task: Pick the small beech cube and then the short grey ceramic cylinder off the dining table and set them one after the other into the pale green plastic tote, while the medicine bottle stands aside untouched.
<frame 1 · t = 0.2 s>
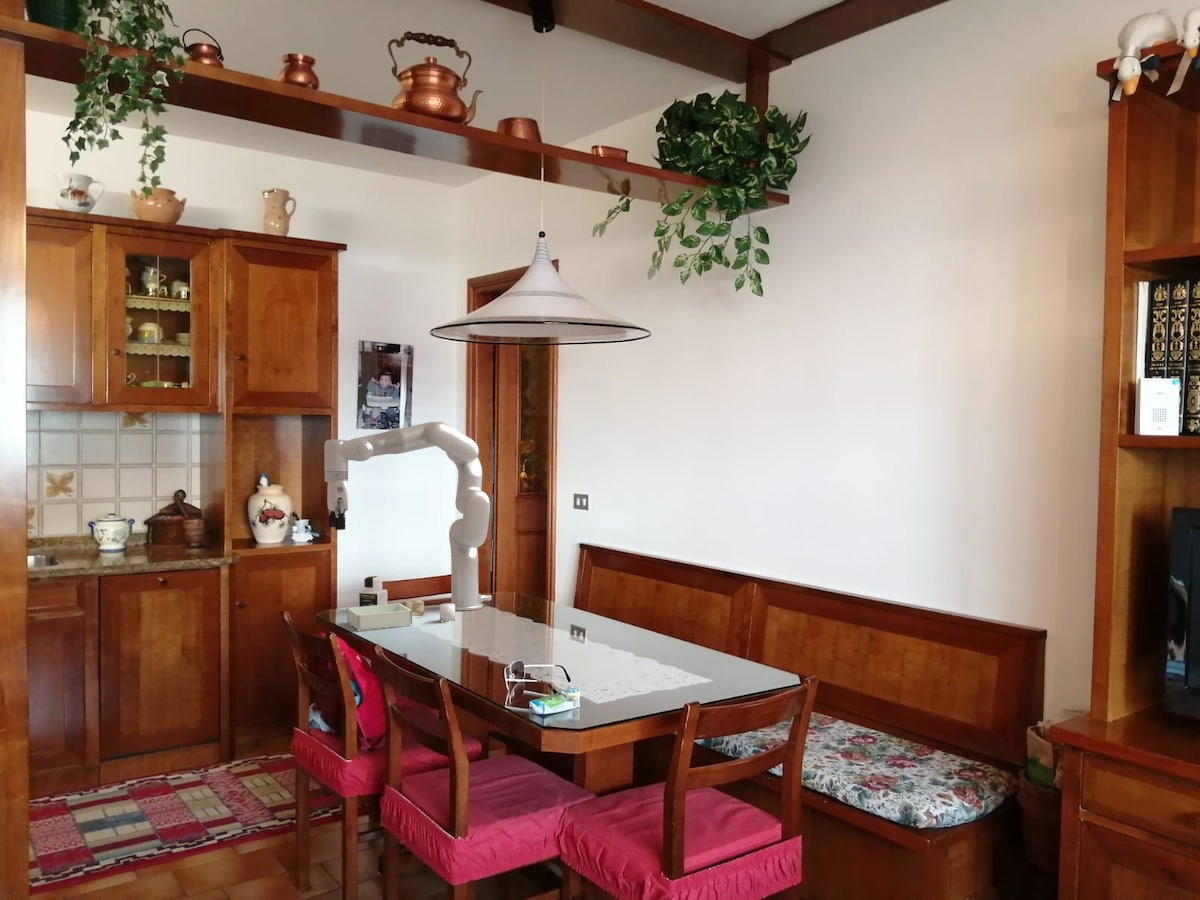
hand: (336, 528, 305), 31 cm above the table, tool pointing down, fingers open, 9 cm apart
grey cylinder: (447, 621, 304), on the table
tote: (379, 624, 299), on the table
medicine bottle: (373, 611, 321), on the table
beech cube: (414, 616, 312), on the table
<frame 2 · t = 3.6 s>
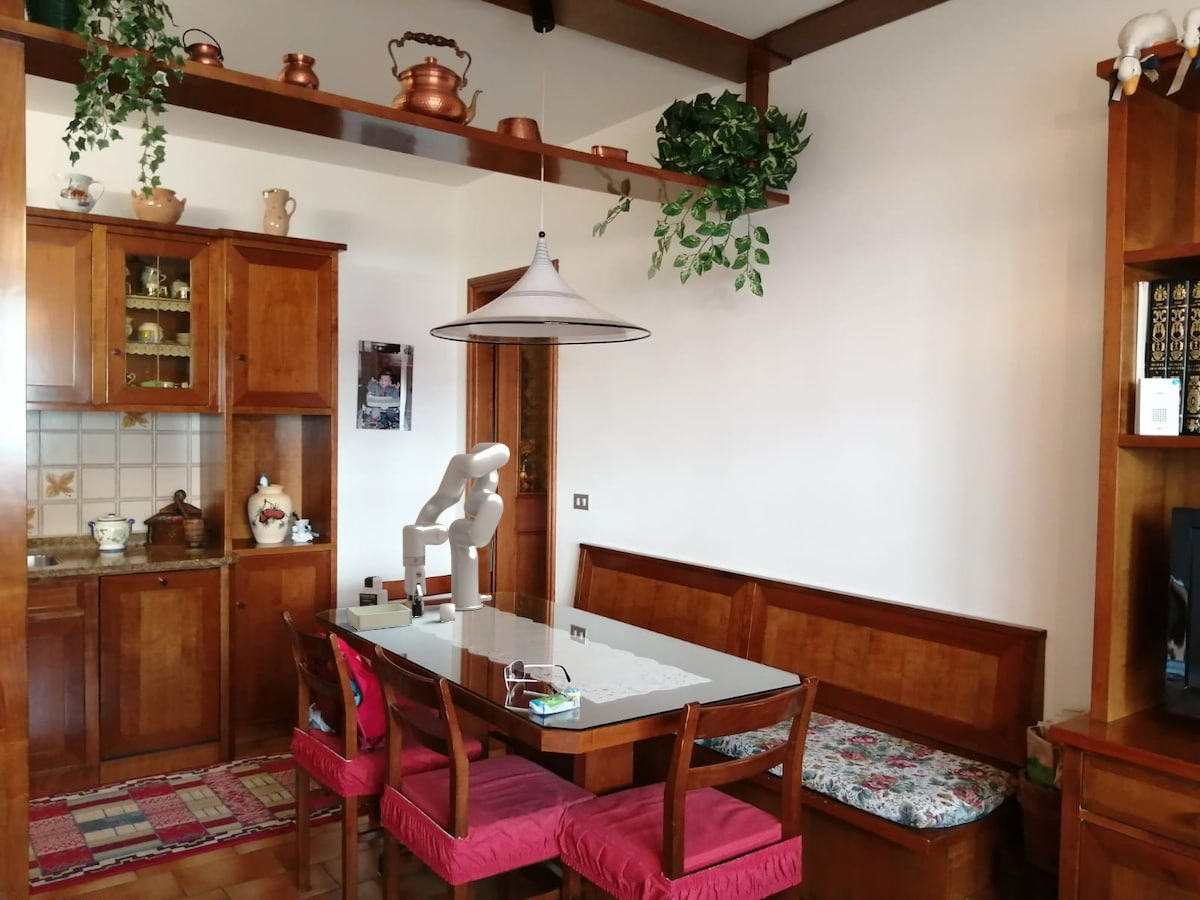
hand: (414, 614, 312), 1 cm above the table, tool pointing down, fingers closed on beech cube, 5 cm apart
beech cube: (414, 616, 312), on the table, touching gripper
everything else where it was.
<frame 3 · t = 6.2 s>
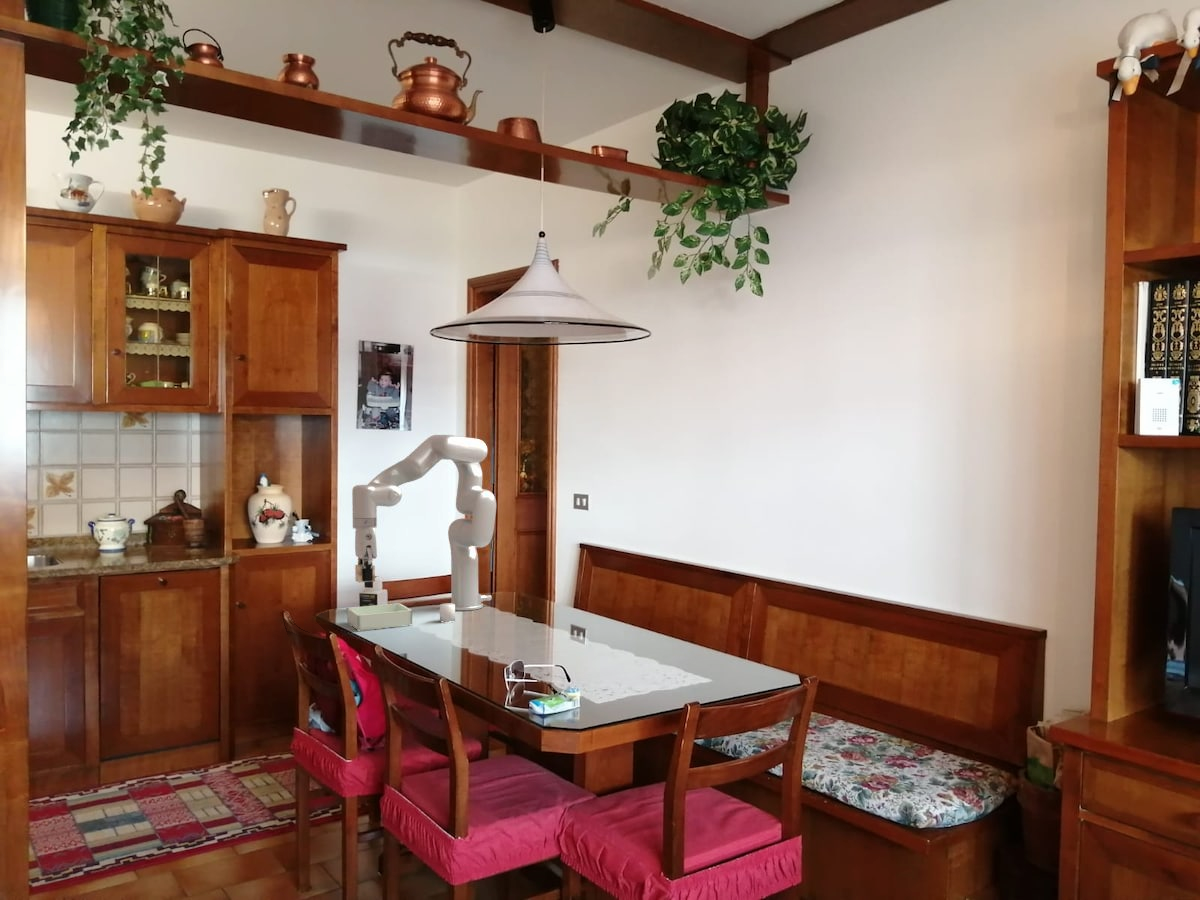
hand: (365, 578, 297), 15 cm above the table, tool pointing down, fingers closed on beech cube, 5 cm apart
beech cube: (365, 580, 297), point 15 cm above the table, touching gripper
everything else where it was.
when the fingers open (3 cm above the table, at t = 8.7 s): beech cube drops 2 cm, resting on tote.
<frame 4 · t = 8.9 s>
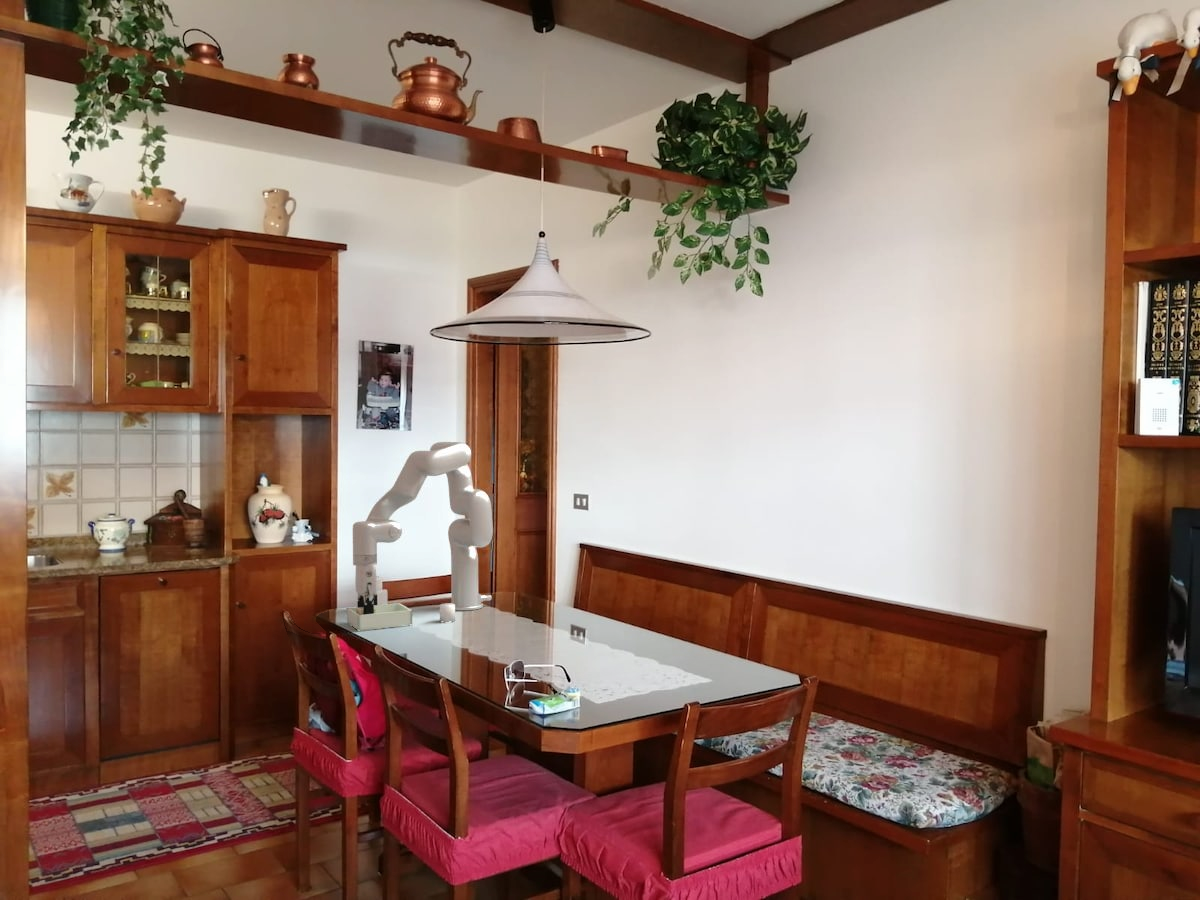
hand: (365, 614, 297), 4 cm above the table, tool pointing down, fingers open, 7 cm apart
beech cube: (365, 623, 297), point 1 cm above the table, touching tote
everything else where it was.
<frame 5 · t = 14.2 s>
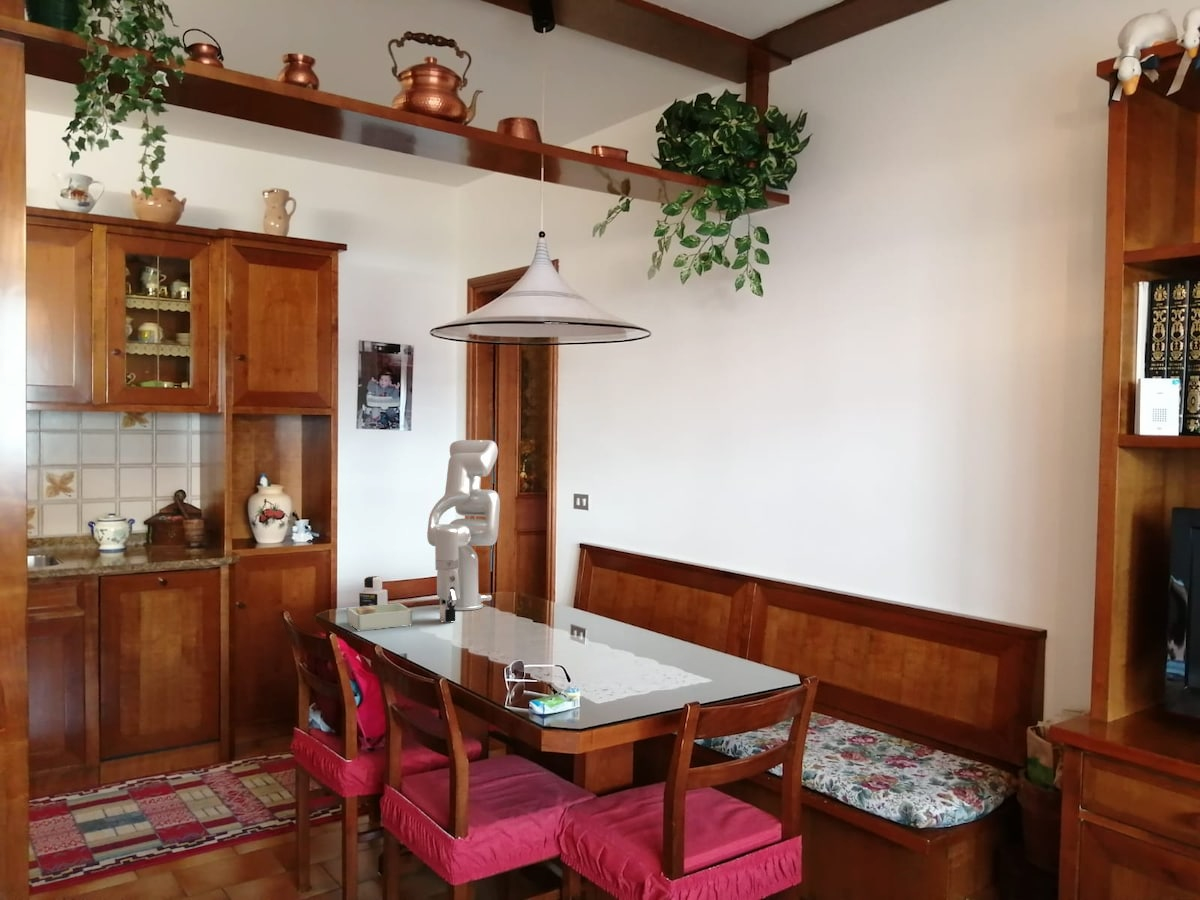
hand: (447, 619, 304), 1 cm above the table, tool pointing down, fingers closed on grey cylinder, 5 cm apart
grey cylinder: (447, 621, 304), on the table, touching gripper
everything else where it was.
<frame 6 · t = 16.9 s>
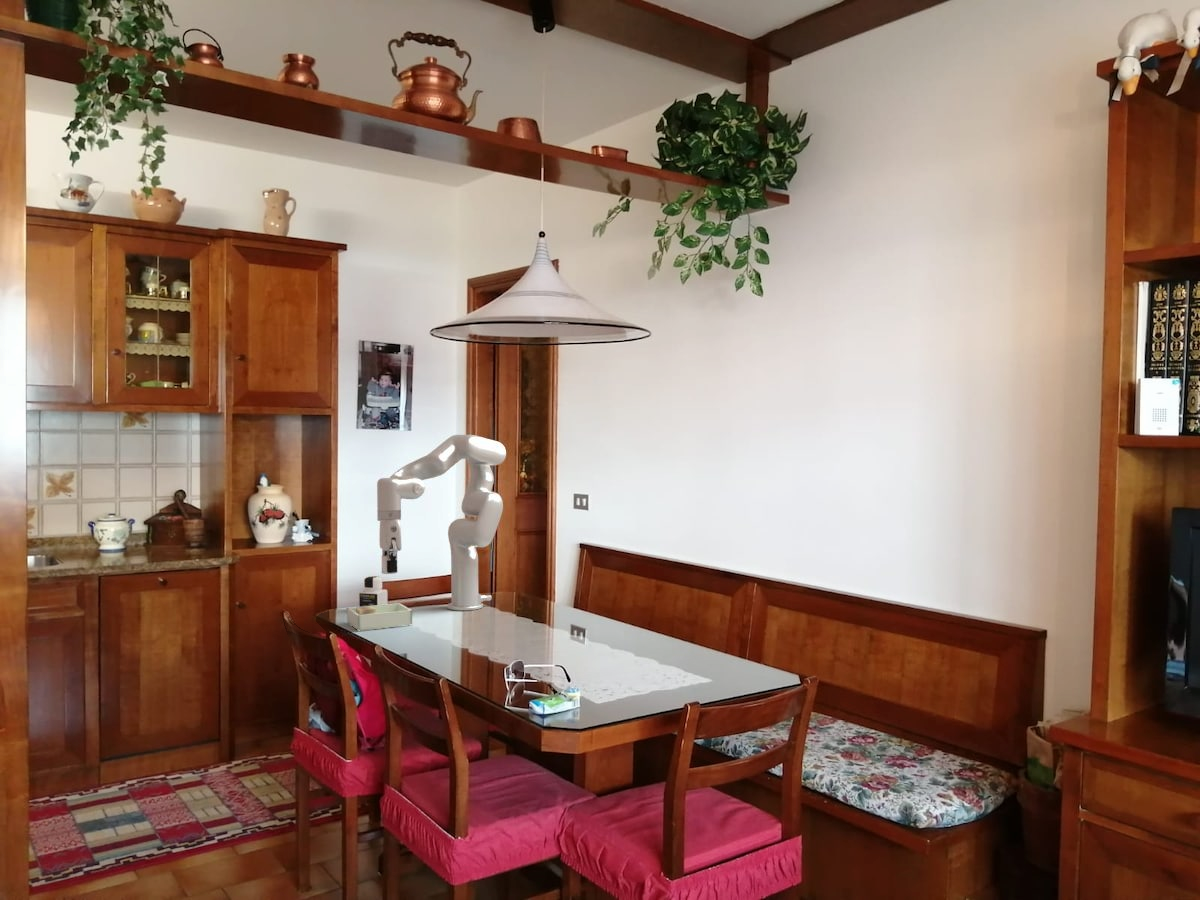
hand: (389, 570, 300), 17 cm above the table, tool pointing down, fingers closed on grey cylinder, 4 cm apart
grey cylinder: (389, 572, 300), point 17 cm above the table, touching gripper
everything else where it was.
when the fingers open (3 cm above the table, at t = 19.9 s): grey cylinder drops 1 cm, resting on tote.
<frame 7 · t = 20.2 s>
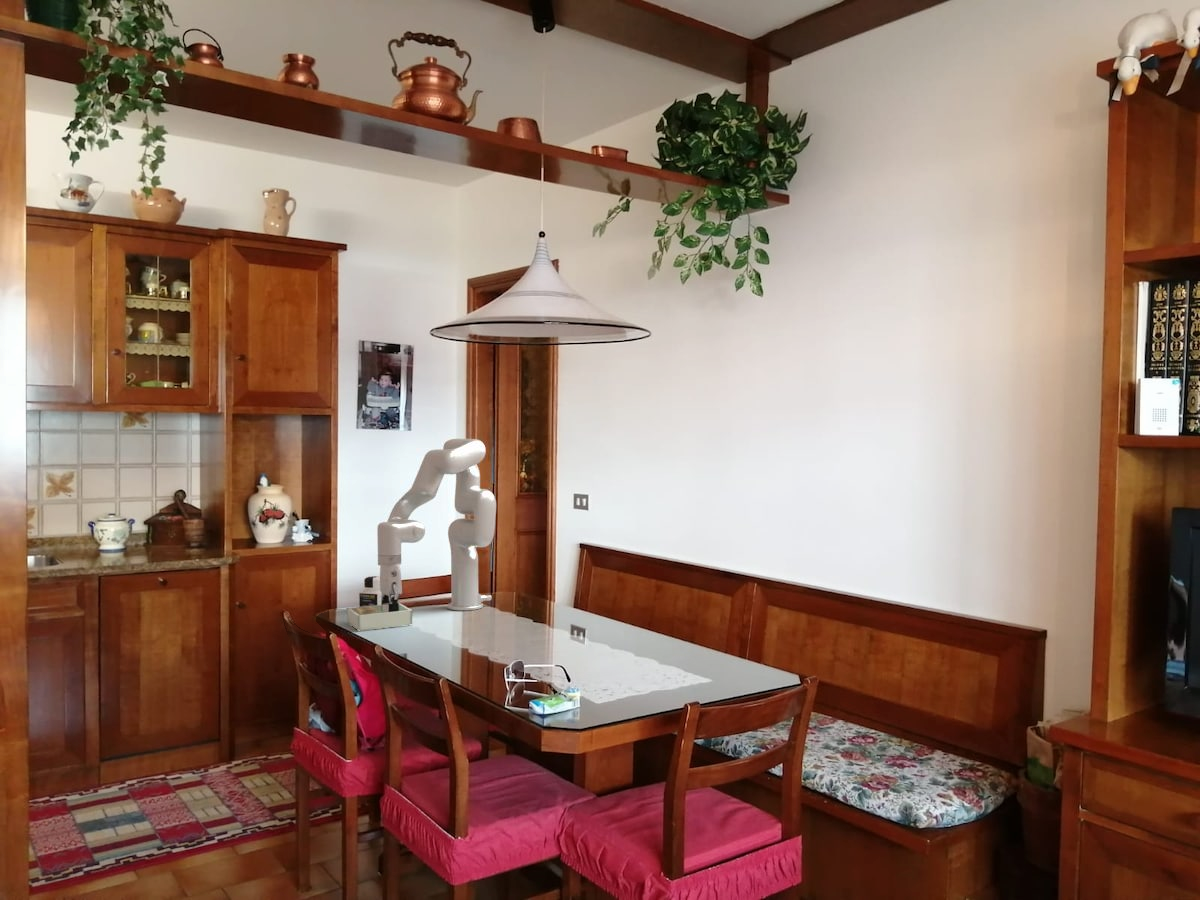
hand: (390, 613, 301), 3 cm above the table, tool pointing down, fingers open, 8 cm apart
grey cylinder: (390, 621, 301), point 1 cm above the table, touching tote
everything else where it was.
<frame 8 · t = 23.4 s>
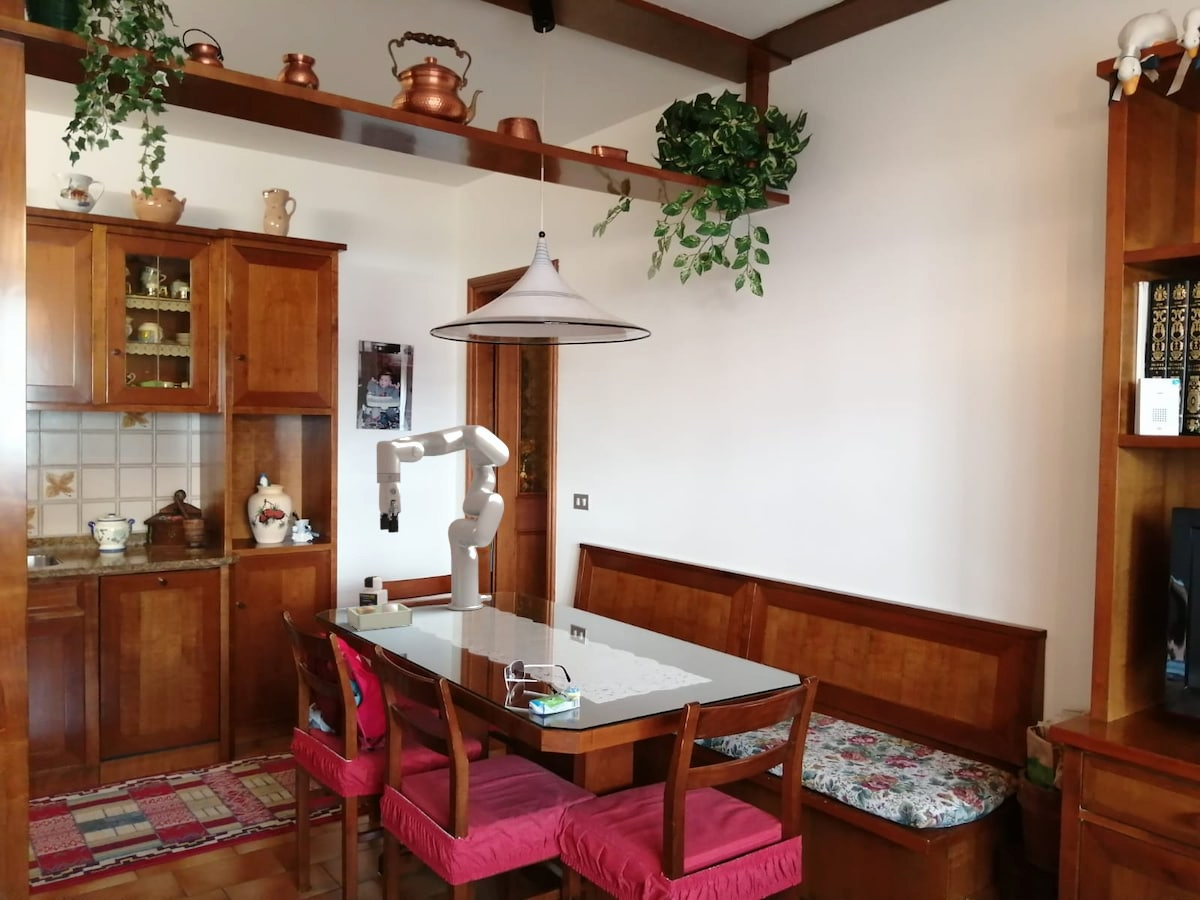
hand: (389, 530, 300), 30 cm above the table, tool pointing down, fingers open, 9 cm apart
nothing on the table moved.
at the end: beech cube inside the target area on the tote (4.5 cm from its centre), point 0.7 cm above the tote's base; grey cylinder inside the target area on the tote (3.5 cm from its centre), point 0.7 cm above the tote's base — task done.
